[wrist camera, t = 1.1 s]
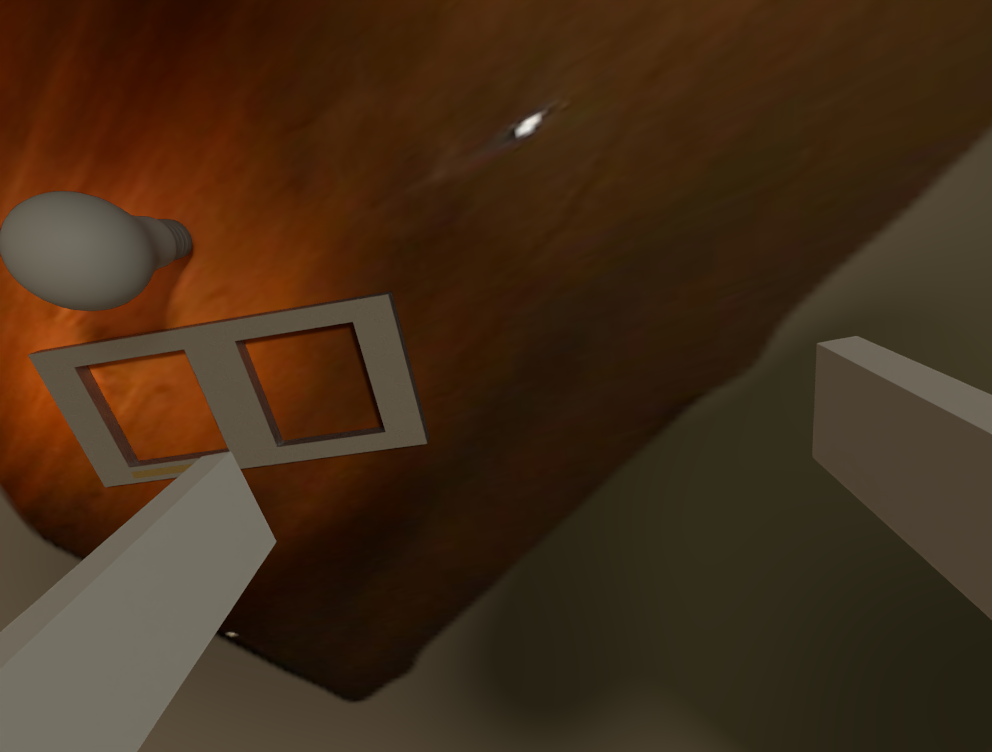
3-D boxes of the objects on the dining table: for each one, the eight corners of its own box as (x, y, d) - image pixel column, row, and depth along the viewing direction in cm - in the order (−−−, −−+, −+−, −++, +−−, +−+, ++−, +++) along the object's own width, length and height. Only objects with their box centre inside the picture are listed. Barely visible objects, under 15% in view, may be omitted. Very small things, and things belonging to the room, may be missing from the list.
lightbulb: (198, 178, 31) (42, 174, 20) (241, 269, 33) (119, 307, 23) (119, 204, 31) (-71, 213, 21) (165, 291, 34) (14, 337, 23)
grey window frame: (40, 350, 36) (27, 354, 35) (391, 291, 33) (388, 294, 32) (114, 480, 40) (104, 487, 39) (429, 437, 37) (427, 444, 36)
